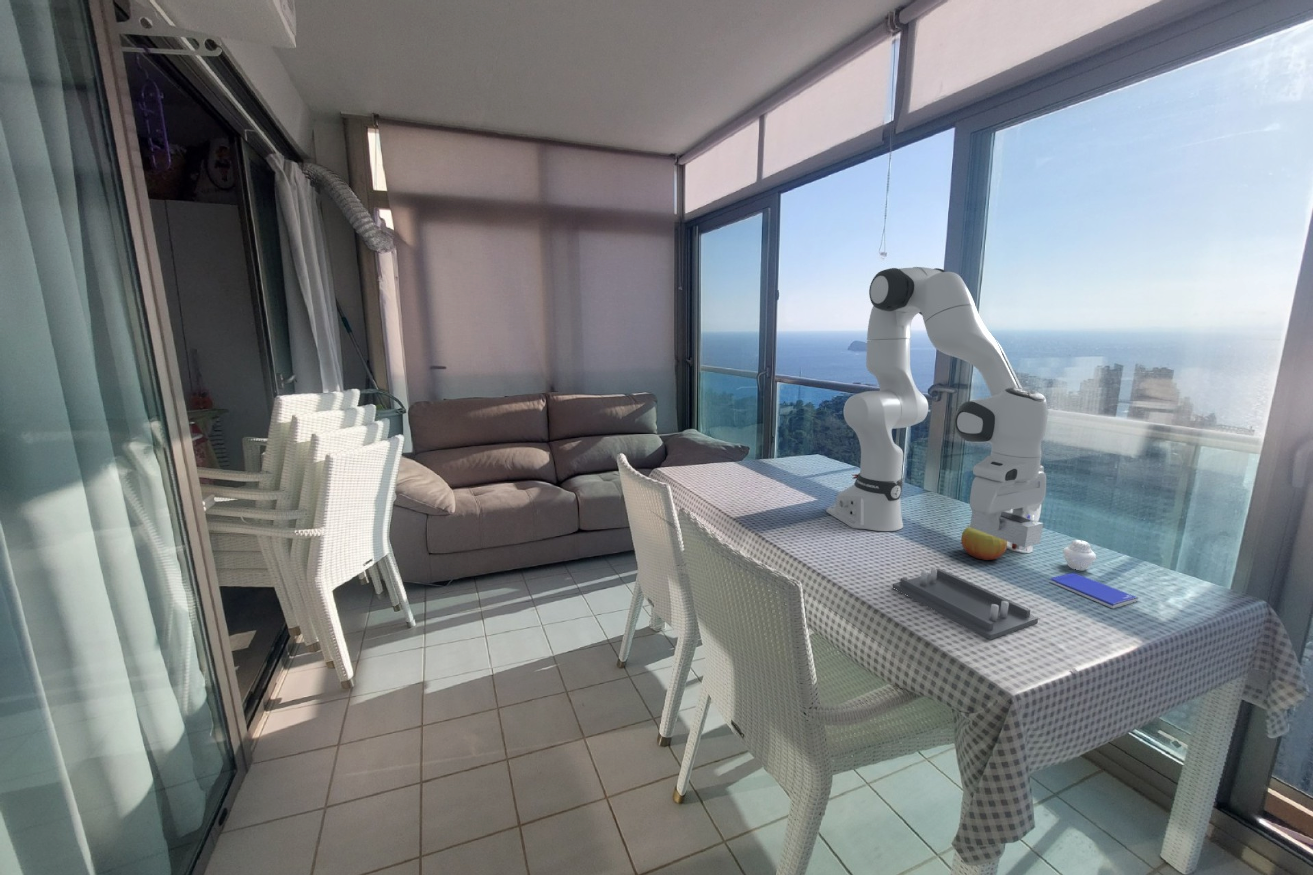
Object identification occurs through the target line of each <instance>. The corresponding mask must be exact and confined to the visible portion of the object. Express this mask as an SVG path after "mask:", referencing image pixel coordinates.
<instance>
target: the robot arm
mask: <svg viewBox="0 0 1313 875" xmlns="http://www.w3.org/2000/svg"><path fill="white" fill-rule="evenodd" d="M868 291H869V292H868V294H869V295H868V296H869V299H870V302H871V303H870V304H872V308H871V310H870V314H869V320H868V325H867V335H866V336H867V337H866V360H865V361H866V362H865V364H866V369H867V371H868V373H870V374H872V375H873V376H874V377H875V379H876V380H877V382H878V386H879V390H869V391H866V390H865V391H863V392H859V393H856V394H854V395H852V396H849V397H848V398H847V400H845V403H844V407H843V417H844V420H845V423H846V424H847V426H849V427H850V428H851V429H852V430H853V431H854V432H855V434H856V436H857V439H858V441H859V446H860V467H859V468H860V470H859V473H858V474H852V475H851V476H852V477H851V478H852V479H853V480H854V479H855V481H854V484H852V485H851V486H849V487H848V488H845V489H844V490H842V491H840V492H839V493H838V494H837V495H836V497H835V502H834V505H831V506H828V507H827V508H826V513H828V514H829V515H831V516H832V517H834V518H836V519H837V520H839V521H841V522H842V523H843V524H846V525H847V526H849V527H850V528H853V529H857V530H859V529H863V530H868V531H869V530H870V531H877V532H895V531H899V530H901V529H903V528H904V523H903V518H902V507H901V504H902V503H901V502H902V501H901V495H902V492H903V484H904V483H903V482H904V480H903V477H902V476H903V475H902V473H903V464H904V452H903V449H902V448H901V447H900V446H899V445H897V444H896V443H895V442H894V440H893V439H894V438H893V435H892V434H893V432H892V430H893V429H903V428H904V429H905V428H910V427H911V426H915V425H917V424H919V423H921V422H923V421H925V419H926V418H927V415H928V413H929V402H928V399H927V398H926V396H925V395H924V394H923V393H921V391H919V390H920V389H918V387H917V386H916V383H915V381H914V377H913V375H912V369H911V338H912V337H911V335H912V334H911V333H912V329H911V327H912V321H913V320H914V317H916V315H919V314H920V315H921V316H922V320H923V324H924V328H925V330H926V334H927V336H928V339H929V341H930V342H931V344H932V345H933V347H934V348H935V349H936V350H937V351H939V352H941V353H942V354H944V355H947V356H950V357H953V358H956V359H958V360H961V361H964V362H966V363H968V364H970V365H972V366H973V367H974V368H975V369H976V370H978V372H979V373H980V375H981V377H982V379H983V380H984V382H985V384H986V387H987V389H988V391H989V393H990V395H991V396H989V397H985V398H978V399H972V400H969V401H965V402H963V403H962V404H961V405H960V406H959V407H958V408H957V410H956V412H955V415H954V418H953V420H954V421H953V422H954V429H955V431H956V433H957V435H958V436H959V437H960V438H961V439H963V440H964V441H966V442H971V443H976V444H977V443H978V444H979V443H980V444H981V443H988V444H990V445H991V449H990V455H987V456H986V457H985V458H984V459H982V460H981V461H980V462H978V463H977V464H975V465H974V466H973V469H972V474H973V475H975V476H974V478H973V480H972V483H971V489H970V494H969V495H970V496H969V507H970V510H971V512H972V511H974V512H976V513H979V514H982V515H987V516H988V519H989V521H990V522H989V529H990V530H993V531H998V530H1001V526H1002V523H1001V522H999V517H1000V516H1001V512H1005V511H1006V512H1007V511H1009V510H1013V514H1016V515H1019V516H1022V517H1023V515H1024V514H1025V512H1026V509H1027V506H1032V505H1036V504H1041V503H1043V502H1044V500H1045V498H1046V494H1047V493H1046V492H1047V474H1046V472H1044V471H1045V467H1044V466H1043V464H1042V460H1041V459H1042V454H1043V453H1042V441H1043V439H1044V438H1045V436H1046V430H1047V422H1048V410H1049V409H1048V402H1047V399H1046V397H1045V395H1043V394H1042V393H1041V392H1038V391H1036V390H1032V389H1029V388H1023V386H1022V384H1021V382H1020V381H1019V379H1018V377H1017V374H1016V373H1015V371H1014V368H1013V366H1012V365H1011V363H1010V361H1009V358H1008V357H1007V354H1006V353H1005V351H1004V349H1003V346H1001V344H1000V343H999V341H998V340H997V339H996V338H995V337H994V336H993V335H992V334H991V333H990V331H989V330H988V328H987V326H986V325H985V324H984V322H983V320H982V318H981V317H980V315H979V312H978V308H977V306H976V303H975V301H974V298H973V296H972V294H971V292H970V290H969V289H968V286H967V285H966V283H965V281H964V280H963V278H962V276H960V275H959V274H958V273H956V272H953V271H948V270H945V269H942V268H938V267H937V268H930V267H923V266H922V267H921V266H914V267H903V268H902V267H901V268H897V267H891V268H887V269H882V270H880V271H879V272H877V274H875V276H873V278H872V280H871V283H870V285H869V290H868Z"/></svg>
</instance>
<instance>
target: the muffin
mask: <svg viewBox="0 0 1313 875" xmlns="http://www.w3.org/2000/svg"><path fill="white" fill-rule="evenodd" d="M1062 553H1063V557H1064V559H1065V560H1064V561H1066V564H1067V566H1068V567H1069V568H1070V569H1072V570H1075V569H1076V571H1081V572H1083V571H1086V570H1087V569H1088V568H1089V567H1090V566H1091V565H1092V564H1093V563H1094V561H1095V560H1096V559H1097V554H1096V553H1095V552H1094V551H1093V550H1092V549H1091V545H1090V543H1089V542H1087V541H1085V540H1083V539H1074V540H1073V541H1071V544H1069V545H1068V546H1065V547H1064V548H1063V549H1062Z"/></svg>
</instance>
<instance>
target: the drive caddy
mask: <svg viewBox="0 0 1313 875" xmlns="http://www.w3.org/2000/svg"><path fill="white" fill-rule="evenodd" d="M989 522H990V521H989V519H988V516H987V515H982V514H979V513H976V512H974V511H972V510H971V517H970V524H969V526H970V528H973V529H976V530H978V531H981V532H984V533H987V534H989V535H992V536H995V537H997V538H1000V539H1003V540H1005V541H1008V542H1011V543H1014V544H1016V545H1019V546H1022V547H1024V548H1025V547H1029V546H1036V545H1039V544H1040V543H1041V539H1042V533H1043V532H1042V531H1043V527H1044V522H1040V521H1034V520H1031V519H1028V518H1025V517H1022V516H1019V515H1016V514H1013V513H1009V512H1007V511H1005V512H1001V516H1000V517H999V522H1001V523H1002V526H1001V530H998V531H993V530H990V529H989Z"/></svg>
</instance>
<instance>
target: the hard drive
mask: <svg viewBox="0 0 1313 875" xmlns="http://www.w3.org/2000/svg"><path fill="white" fill-rule="evenodd" d="M1049 581H1050V582H1049V583H1051V584H1054V585H1055V586H1059V587H1060V588H1062V589H1065V590H1067V591H1070V592H1073V593H1075V594H1077V595H1079V596H1082V597H1084V598H1087V599H1089V600H1092V601H1095V602H1096V603H1098V604H1100V605H1104V606H1106V607H1108V608H1111V609H1116V608H1120V607H1123V606H1126V605H1129V604H1133V602H1134V603H1136V601H1137V602H1138V600H1139V597H1137V596H1135V595H1132V594H1129V593H1127V592H1124V591H1122V590H1119V589H1117V588H1114V587H1111V586H1109V585H1106V584H1104V583H1101V582H1099V581H1096V580H1093V579H1091V578H1088V577H1085V576H1082V575H1080V574H1078V573H1075V572H1071V573H1065V574H1062V575H1059V576H1056V577H1051V578H1050V580H1049Z"/></svg>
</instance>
